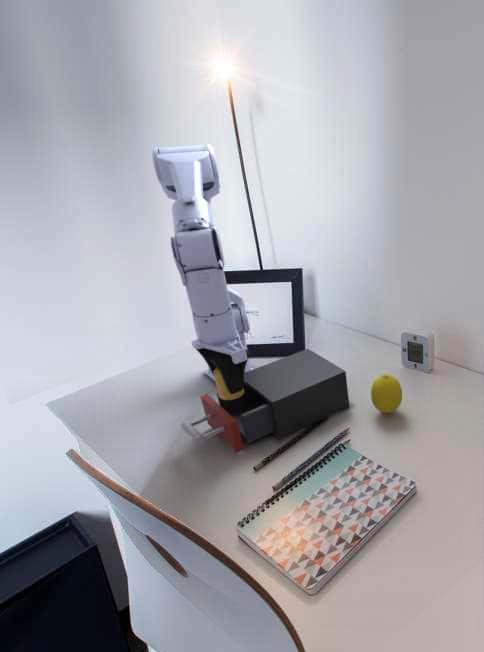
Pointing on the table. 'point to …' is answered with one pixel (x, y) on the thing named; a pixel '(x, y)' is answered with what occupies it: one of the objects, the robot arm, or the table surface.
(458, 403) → the table surface
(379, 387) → the lemon
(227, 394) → the yellow wooden cylinder
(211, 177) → the robot arm
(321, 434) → the table surface
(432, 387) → the table surface
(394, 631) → the table surface
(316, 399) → the dark grey box
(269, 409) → the drawer
